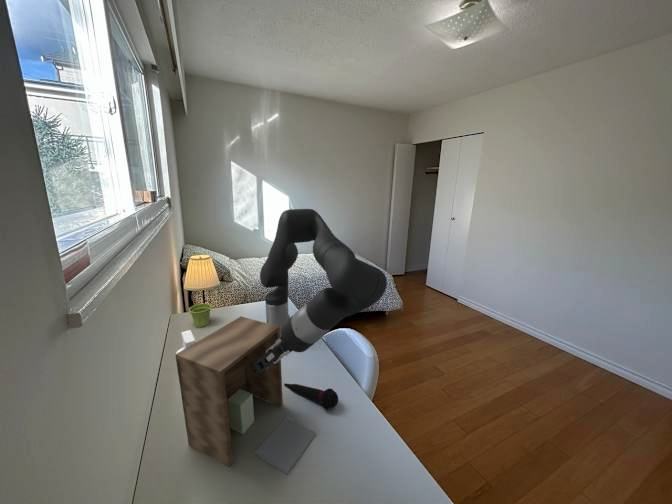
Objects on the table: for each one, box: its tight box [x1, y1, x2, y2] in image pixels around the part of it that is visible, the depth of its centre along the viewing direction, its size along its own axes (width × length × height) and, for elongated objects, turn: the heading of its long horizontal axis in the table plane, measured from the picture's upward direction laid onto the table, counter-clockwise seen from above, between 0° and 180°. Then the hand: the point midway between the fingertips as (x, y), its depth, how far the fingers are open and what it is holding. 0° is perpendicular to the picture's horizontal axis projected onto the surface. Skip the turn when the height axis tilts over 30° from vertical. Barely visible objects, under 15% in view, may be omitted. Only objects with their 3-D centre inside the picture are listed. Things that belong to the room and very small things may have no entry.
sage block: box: [227, 389, 255, 435], centre depth 74 cm, size 4×4×9 cm
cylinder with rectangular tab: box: [175, 329, 196, 354], centre depth 98 cm, size 9×9×12 cm
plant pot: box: [188, 302, 212, 328], centre depth 127 cm, size 9×9×9 cm
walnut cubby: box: [175, 316, 284, 468], centre depth 72 cm, size 14×21×26 cm, turn 156°
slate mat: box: [254, 417, 317, 476], centre depth 69 cm, size 12×10×1 cm
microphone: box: [283, 382, 339, 410], centre depth 85 cm, size 6×6×20 cm
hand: (267, 360), depth 65 cm, fingers open, 8 cm apart
